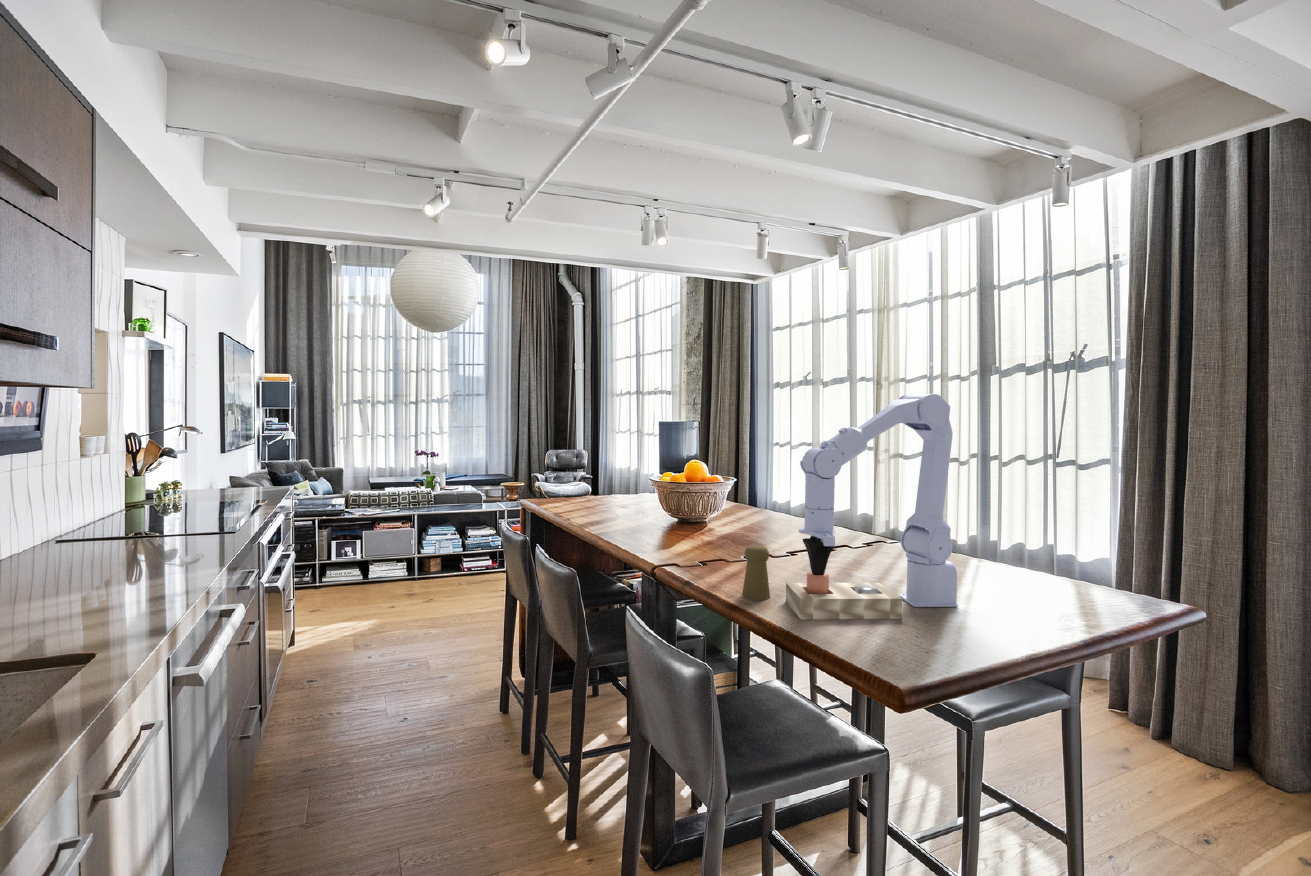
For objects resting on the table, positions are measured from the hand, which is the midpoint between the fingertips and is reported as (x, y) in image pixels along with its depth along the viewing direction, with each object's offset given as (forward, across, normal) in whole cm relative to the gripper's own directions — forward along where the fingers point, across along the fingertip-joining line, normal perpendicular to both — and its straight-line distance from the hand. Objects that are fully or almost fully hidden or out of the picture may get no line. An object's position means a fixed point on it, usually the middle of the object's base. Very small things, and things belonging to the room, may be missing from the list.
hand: (817, 574), depth 136 cm
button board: (+7, 0, +5) cm, 9 cm away
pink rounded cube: (+4, 0, 0) cm, 4 cm away
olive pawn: (+8, -10, -10) cm, 16 cm away
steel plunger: (+7, 0, +10) cm, 12 cm away
